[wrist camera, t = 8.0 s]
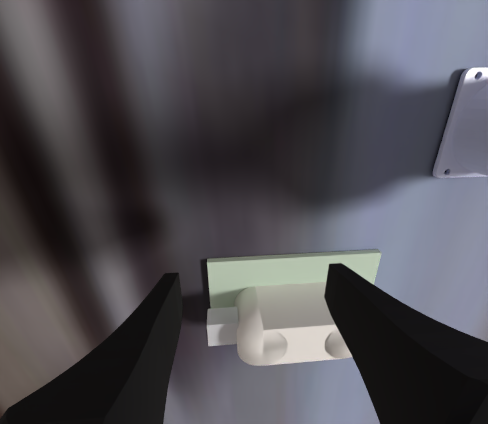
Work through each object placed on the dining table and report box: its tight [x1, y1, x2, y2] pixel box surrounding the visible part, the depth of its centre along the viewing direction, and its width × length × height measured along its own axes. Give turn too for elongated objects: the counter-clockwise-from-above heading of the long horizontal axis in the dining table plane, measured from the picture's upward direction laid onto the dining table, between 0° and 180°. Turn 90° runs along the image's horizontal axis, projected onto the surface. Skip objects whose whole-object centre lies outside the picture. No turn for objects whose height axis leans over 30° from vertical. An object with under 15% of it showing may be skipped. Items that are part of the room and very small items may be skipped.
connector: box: [207, 282, 352, 366], centre depth 23 cm, size 13×4×5 cm, turn 90°
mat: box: [207, 249, 381, 309], centre depth 26 cm, size 16×10×1 cm, turn 90°
